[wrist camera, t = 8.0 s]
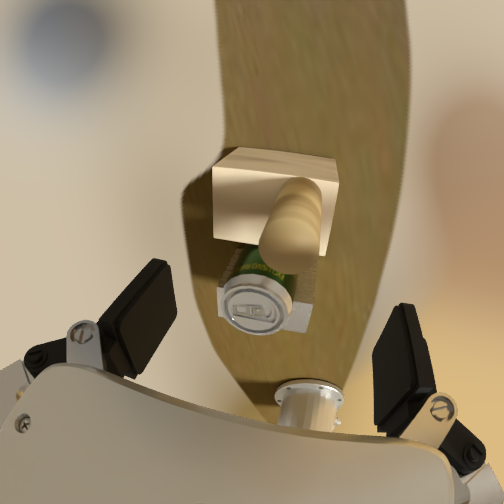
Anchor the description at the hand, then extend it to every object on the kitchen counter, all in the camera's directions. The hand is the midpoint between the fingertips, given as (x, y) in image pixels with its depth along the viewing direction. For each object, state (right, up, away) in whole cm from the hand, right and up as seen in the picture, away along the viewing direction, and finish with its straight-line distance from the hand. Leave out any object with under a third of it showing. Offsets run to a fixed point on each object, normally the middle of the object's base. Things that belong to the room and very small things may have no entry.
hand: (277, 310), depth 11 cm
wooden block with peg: (+2, +9, +15) cm, 18 cm away
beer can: (+2, +5, +19) cm, 19 cm away
